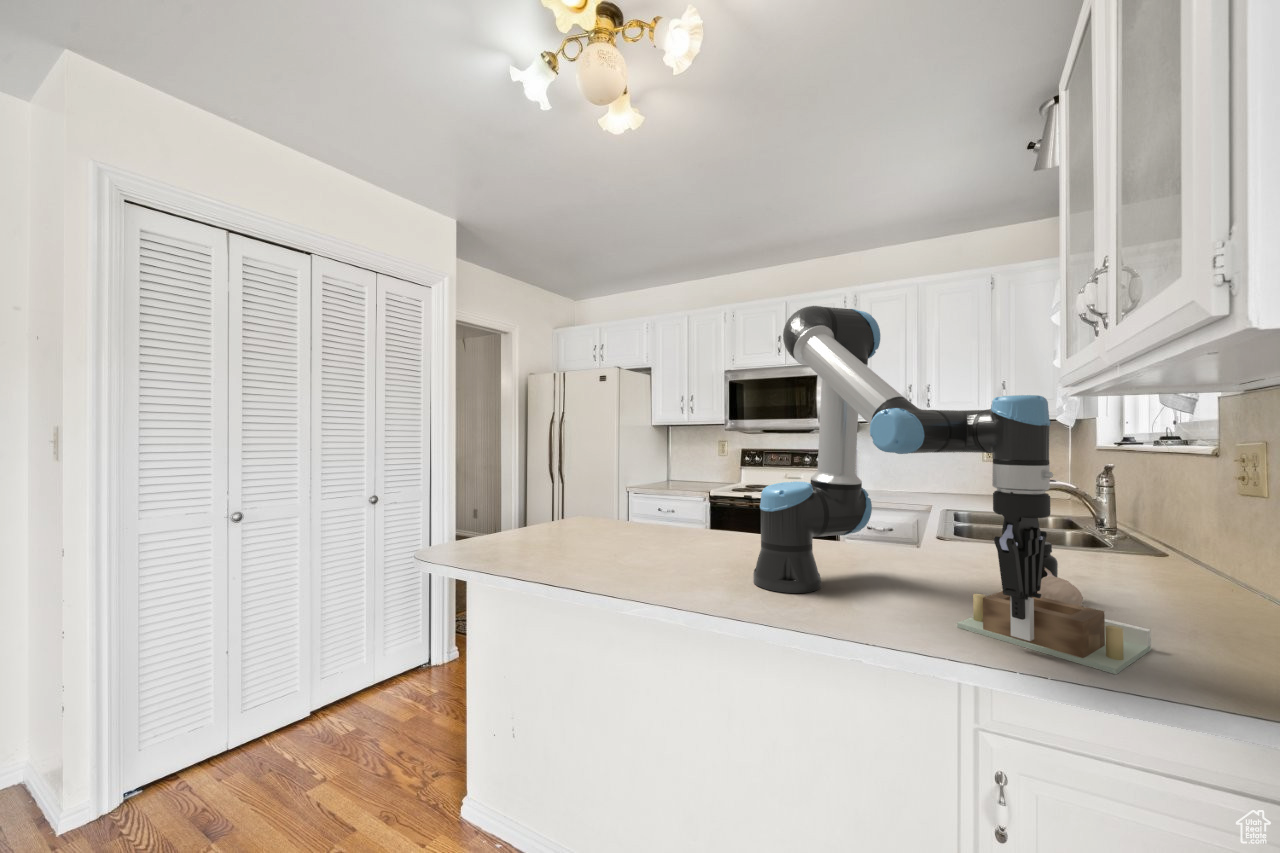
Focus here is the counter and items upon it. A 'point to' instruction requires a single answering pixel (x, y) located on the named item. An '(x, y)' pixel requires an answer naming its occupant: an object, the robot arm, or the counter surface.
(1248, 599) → the counter surface
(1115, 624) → the wall board
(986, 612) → the wooden box
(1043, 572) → the supplement bottle
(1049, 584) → the garlic bulb
